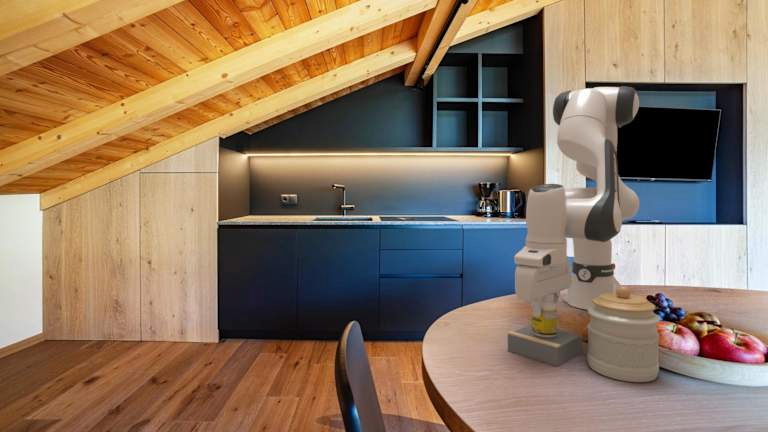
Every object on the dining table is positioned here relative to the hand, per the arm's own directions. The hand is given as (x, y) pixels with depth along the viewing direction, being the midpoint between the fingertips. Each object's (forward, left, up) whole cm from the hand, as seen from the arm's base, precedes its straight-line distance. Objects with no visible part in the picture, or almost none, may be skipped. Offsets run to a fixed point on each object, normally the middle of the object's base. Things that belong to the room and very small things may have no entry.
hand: (545, 312), depth 95 cm
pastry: (-19, +4, -10) cm, 22 cm away
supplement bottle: (0, 0, -5) cm, 5 cm away
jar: (-2, +16, -9) cm, 18 cm away
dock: (0, 0, -9) cm, 9 cm away
